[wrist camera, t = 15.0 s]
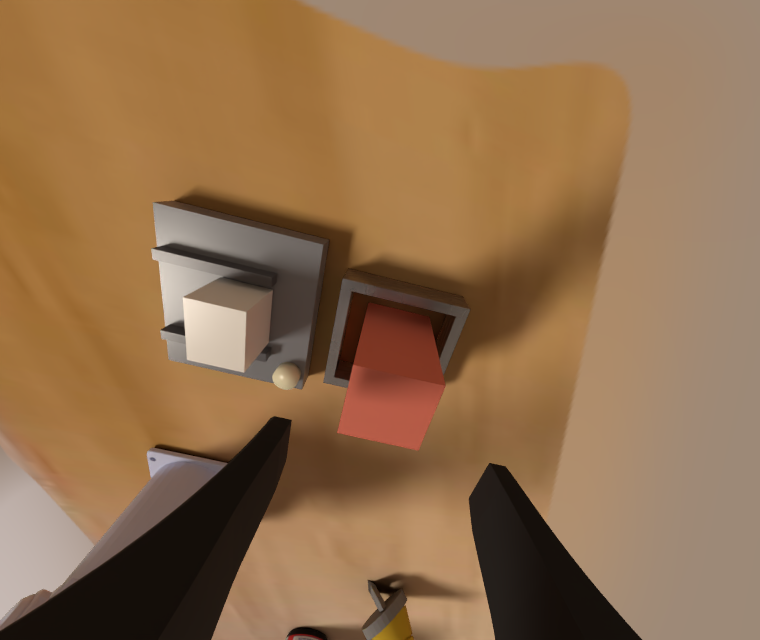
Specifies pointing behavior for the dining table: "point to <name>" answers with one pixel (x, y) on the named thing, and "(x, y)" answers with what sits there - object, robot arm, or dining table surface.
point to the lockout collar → (400, 293)
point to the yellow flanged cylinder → (388, 617)
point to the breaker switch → (227, 323)
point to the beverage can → (305, 635)
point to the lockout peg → (393, 379)
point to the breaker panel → (248, 265)
